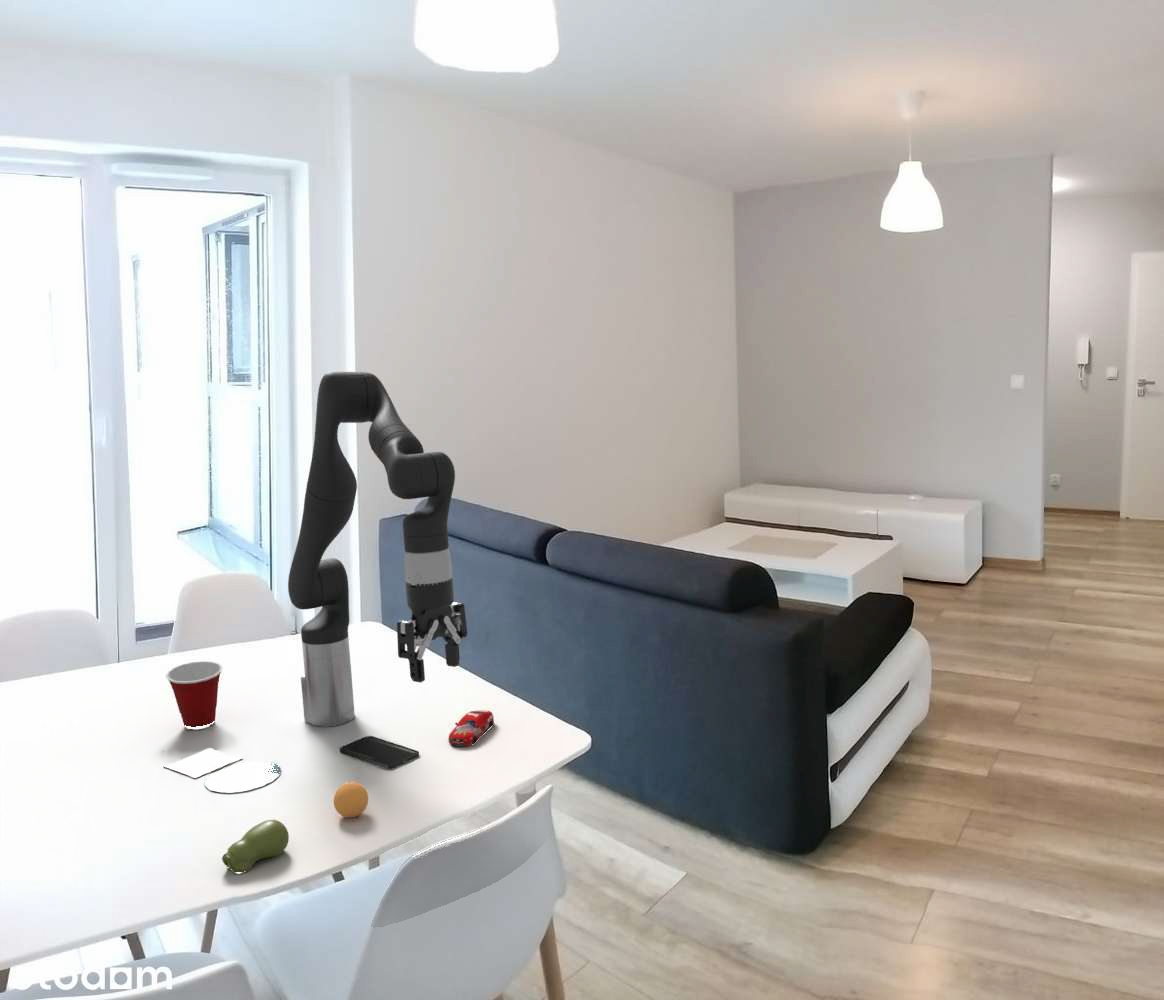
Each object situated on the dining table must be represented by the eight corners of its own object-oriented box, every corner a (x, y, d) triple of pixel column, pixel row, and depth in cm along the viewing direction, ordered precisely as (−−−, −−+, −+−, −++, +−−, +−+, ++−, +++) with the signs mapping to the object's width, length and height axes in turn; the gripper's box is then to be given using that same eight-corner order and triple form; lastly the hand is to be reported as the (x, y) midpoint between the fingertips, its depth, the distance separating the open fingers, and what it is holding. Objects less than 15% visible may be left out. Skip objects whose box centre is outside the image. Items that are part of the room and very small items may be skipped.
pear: (291, 820, 150) (230, 856, 143) (299, 850, 151) (239, 887, 144) (271, 808, 153) (212, 843, 147) (279, 838, 155) (221, 874, 148)
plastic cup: (172, 739, 197) (165, 681, 195) (170, 721, 207) (164, 666, 205) (230, 729, 202) (224, 672, 200) (225, 712, 211) (220, 657, 209)
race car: (470, 751, 187) (469, 730, 186) (444, 748, 189) (443, 728, 188) (498, 724, 199) (497, 705, 199) (474, 722, 201) (473, 703, 200)
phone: (368, 735, 194) (421, 752, 185) (369, 740, 194) (422, 757, 185) (336, 748, 188) (389, 767, 179) (336, 754, 188) (389, 773, 179)
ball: (328, 821, 161) (325, 789, 160) (347, 806, 166) (344, 774, 165) (357, 825, 159) (354, 793, 158) (375, 810, 164) (373, 778, 163)
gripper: (440, 566, 168) (446, 658, 171) (380, 584, 157) (388, 683, 159) (474, 569, 164) (481, 664, 167) (416, 588, 152) (424, 690, 155)
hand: (435, 673), depth 163 cm, fingers open, 8 cm apart
